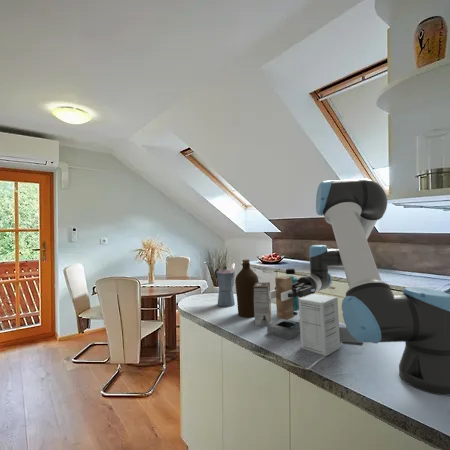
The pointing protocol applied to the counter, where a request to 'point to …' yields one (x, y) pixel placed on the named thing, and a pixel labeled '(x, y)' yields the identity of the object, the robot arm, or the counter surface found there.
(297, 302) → the beverage bottle
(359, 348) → the counter surface
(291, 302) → the wooden peg
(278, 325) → the post base
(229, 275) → the moka pot
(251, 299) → the olive oil
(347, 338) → the rubber mat
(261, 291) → the coffee box
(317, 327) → the supplement box
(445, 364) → the robot arm
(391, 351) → the counter surface
